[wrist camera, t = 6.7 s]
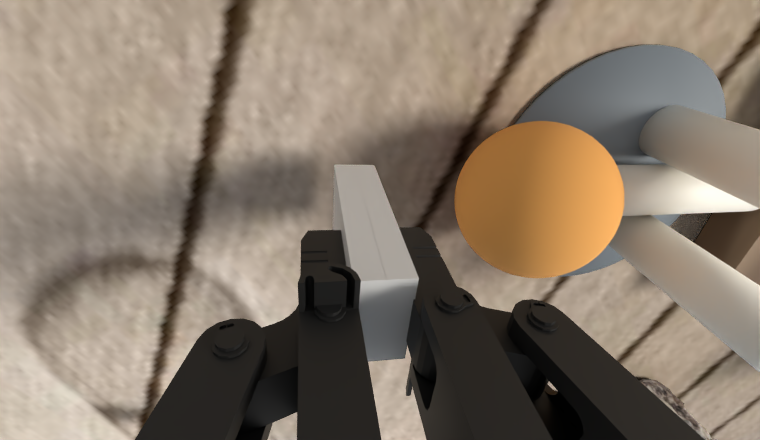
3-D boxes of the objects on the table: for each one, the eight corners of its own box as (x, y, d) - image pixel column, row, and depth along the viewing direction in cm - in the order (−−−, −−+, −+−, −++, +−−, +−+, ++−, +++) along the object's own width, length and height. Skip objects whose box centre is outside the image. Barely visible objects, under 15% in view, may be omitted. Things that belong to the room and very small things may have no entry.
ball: (623, 315, 14) (559, 228, 19) (700, 158, 10) (598, 106, 16) (457, 308, 14) (438, 223, 19) (486, 150, 10) (454, 100, 16)
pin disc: (463, 278, 20) (464, 281, 20) (525, 33, 14) (528, 33, 14) (650, 269, 23) (653, 271, 22) (774, 54, 16) (778, 55, 16)
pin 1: (627, 153, 18) (842, 261, 11) (649, 102, 17) (910, 186, 9) (669, 154, 18) (903, 258, 11) (694, 104, 17) (975, 186, 10)
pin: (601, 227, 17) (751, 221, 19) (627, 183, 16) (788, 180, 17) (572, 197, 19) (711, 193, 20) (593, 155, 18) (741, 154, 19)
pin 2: (588, 240, 20) (741, 375, 13) (606, 201, 19) (783, 327, 12) (626, 239, 21) (793, 369, 14) (645, 201, 20) (840, 322, 12)
